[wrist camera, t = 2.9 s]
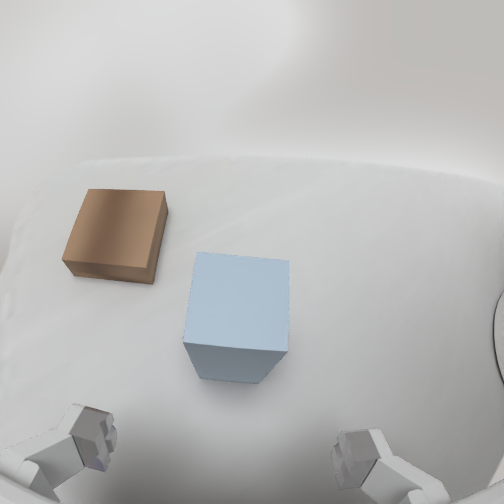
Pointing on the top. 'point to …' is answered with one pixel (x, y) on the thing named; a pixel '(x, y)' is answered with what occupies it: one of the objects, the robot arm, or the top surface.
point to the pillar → (237, 316)
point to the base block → (117, 235)
